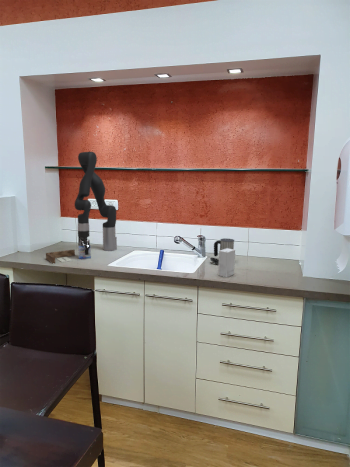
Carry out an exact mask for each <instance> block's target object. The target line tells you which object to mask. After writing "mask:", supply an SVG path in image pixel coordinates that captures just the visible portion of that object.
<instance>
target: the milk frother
mask: <svg viewBox="0 0 350 467" xmlns="http://www.w3.org/2000/svg"><path fill="white" fill-rule="evenodd" d="M234 247H235V239H233V238H228V237H227V238H220V239H219V240H216V241H214V244H213V256H214V257H210V258H209V259H210V261H211V262H212V263H214V264H215V265H219V258H216V257H217V256H218V257H219V251H220V250H223V249H226V248H229V249H233V250H235V249H234Z"/></svg>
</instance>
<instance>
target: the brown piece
mask: <svg viewBox="0 0 350 467" xmlns="http://www.w3.org/2000/svg"><path fill="white" fill-rule="evenodd" d="M74 256H76V251H75V249H67V250H59V251H51V252H45V259H46V260H47V261H49V262H50V263H51V262H52V263H51V264H53V263H54V264H56V258H62V257H68V258H69V257H74Z"/></svg>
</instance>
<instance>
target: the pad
mask: <svg viewBox="0 0 350 467" xmlns="http://www.w3.org/2000/svg"><path fill="white" fill-rule="evenodd" d="M57 259H58V261H59V262H61V263H66V262H73V260H72V258H69V256H68V257H60V258H55V260H57Z"/></svg>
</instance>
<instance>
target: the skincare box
mask: <svg viewBox="0 0 350 467" xmlns="http://www.w3.org/2000/svg"><path fill="white" fill-rule="evenodd" d="M235 259H236V250H235V249H234V250H233V249H229V248H226V249H223V250H220V249H219V250H218V260H219V264H218V272H217V273H218V274H217V275H218V276H220V277H223V278H228V277H230V276H233V275H235V262H236V261H235Z"/></svg>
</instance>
